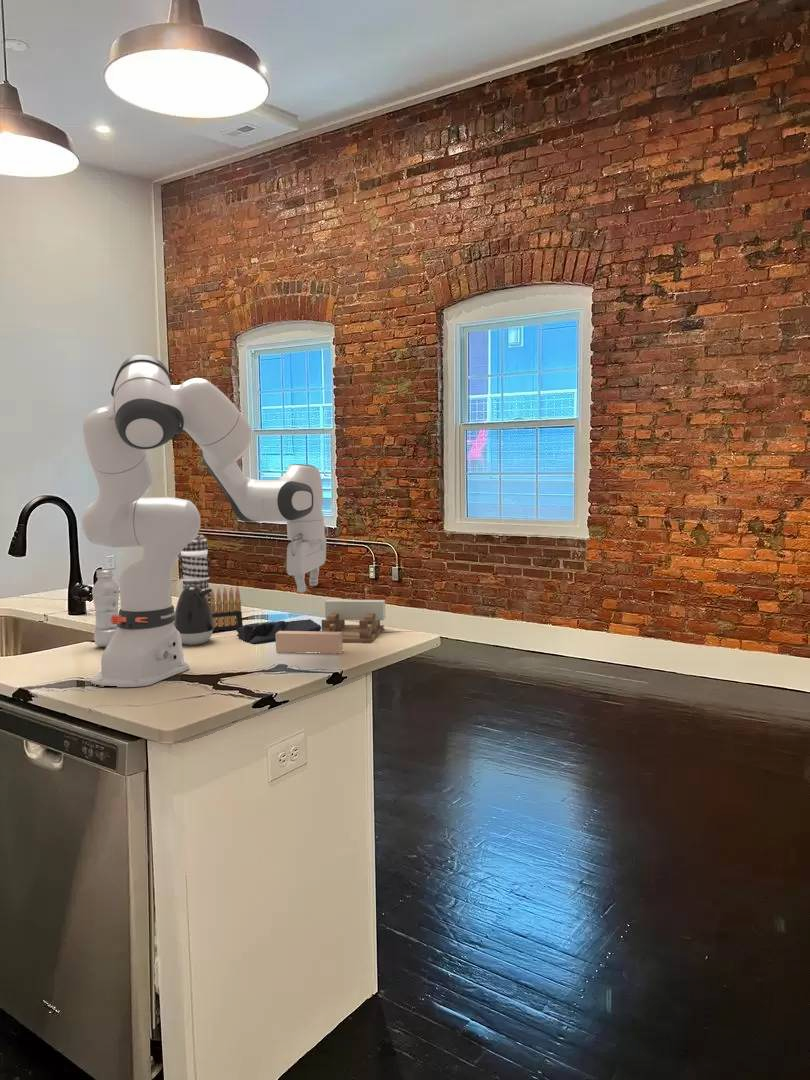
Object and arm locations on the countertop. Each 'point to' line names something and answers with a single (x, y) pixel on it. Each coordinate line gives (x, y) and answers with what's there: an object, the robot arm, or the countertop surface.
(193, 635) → the pump dispenser
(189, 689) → the countertop surface
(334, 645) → the clay strip
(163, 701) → the countertop surface
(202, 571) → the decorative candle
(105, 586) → the plastic bottle
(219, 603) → the ammunition clip
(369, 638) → the walnut drying rack
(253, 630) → the dark slate chunk
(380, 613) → the cream rectangular bar
